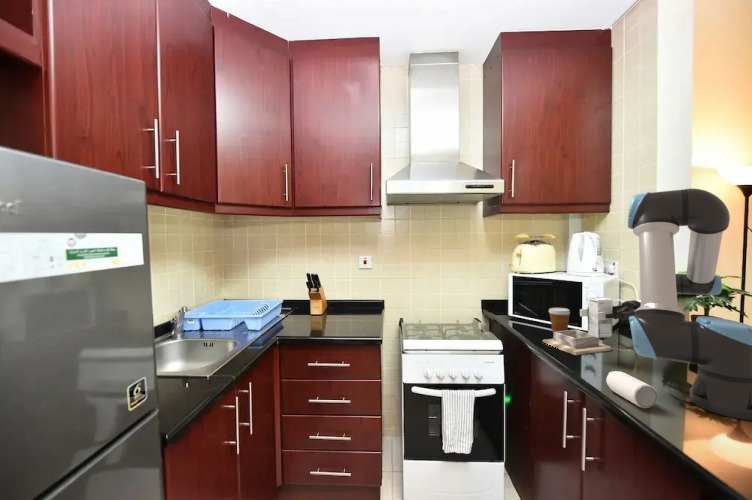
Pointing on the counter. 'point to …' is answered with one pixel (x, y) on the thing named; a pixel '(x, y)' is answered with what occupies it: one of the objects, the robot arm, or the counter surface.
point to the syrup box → (599, 326)
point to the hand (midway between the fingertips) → (588, 314)
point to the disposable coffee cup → (559, 319)
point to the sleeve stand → (576, 342)
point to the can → (632, 389)
